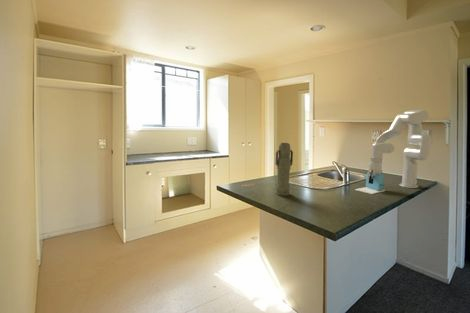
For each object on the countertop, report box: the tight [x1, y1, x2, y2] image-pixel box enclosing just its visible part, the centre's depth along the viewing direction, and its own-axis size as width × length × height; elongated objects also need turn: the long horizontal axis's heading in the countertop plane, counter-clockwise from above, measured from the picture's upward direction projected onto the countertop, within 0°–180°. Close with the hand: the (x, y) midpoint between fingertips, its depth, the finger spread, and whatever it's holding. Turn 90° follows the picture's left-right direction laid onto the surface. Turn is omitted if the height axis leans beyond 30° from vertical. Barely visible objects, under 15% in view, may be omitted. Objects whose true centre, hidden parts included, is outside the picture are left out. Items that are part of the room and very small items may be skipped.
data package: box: [365, 172, 385, 191], centre depth 200 cm, size 12×4×12 cm, turn 20°
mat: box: [354, 186, 386, 195], centre depth 198 cm, size 18×13×1 cm
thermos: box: [275, 142, 294, 197], centre depth 182 cm, size 9×12×35 cm
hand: (374, 182), depth 201 cm, fingers open, 9 cm apart
